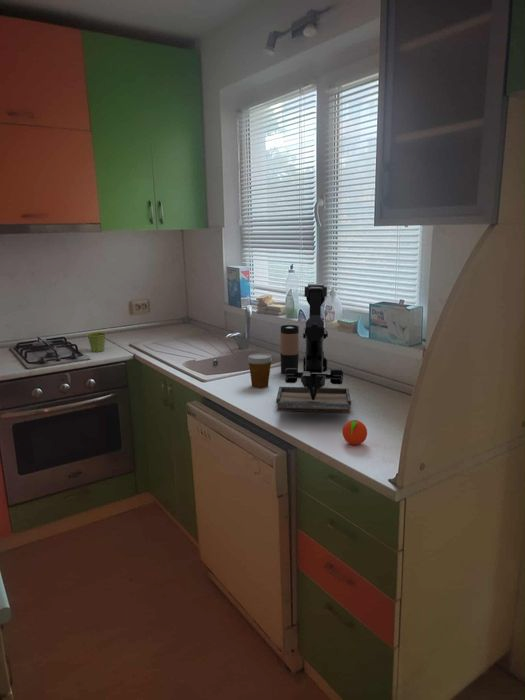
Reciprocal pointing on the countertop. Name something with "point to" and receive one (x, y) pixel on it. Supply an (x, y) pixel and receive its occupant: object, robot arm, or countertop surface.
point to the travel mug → (289, 347)
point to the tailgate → (313, 404)
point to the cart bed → (321, 396)
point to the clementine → (354, 432)
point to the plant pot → (97, 341)
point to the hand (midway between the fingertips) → (313, 399)
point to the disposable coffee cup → (259, 369)
